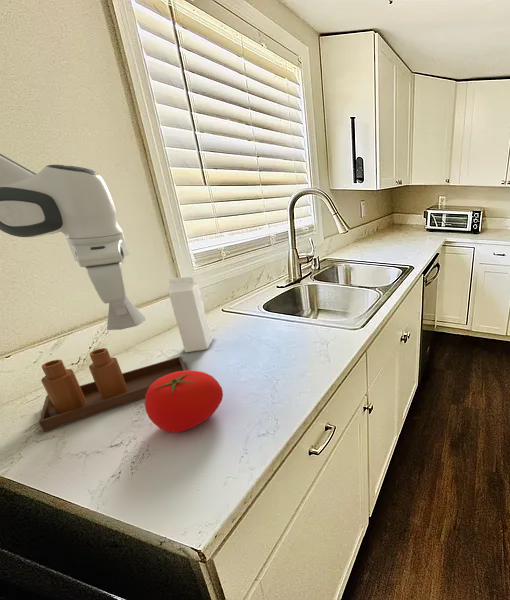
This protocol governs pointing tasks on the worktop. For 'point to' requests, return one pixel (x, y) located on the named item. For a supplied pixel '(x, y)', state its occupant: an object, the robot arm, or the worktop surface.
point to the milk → (189, 313)
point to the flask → (124, 317)
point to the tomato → (182, 400)
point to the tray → (95, 404)
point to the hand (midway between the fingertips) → (121, 309)
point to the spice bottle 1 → (62, 387)
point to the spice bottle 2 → (107, 374)
